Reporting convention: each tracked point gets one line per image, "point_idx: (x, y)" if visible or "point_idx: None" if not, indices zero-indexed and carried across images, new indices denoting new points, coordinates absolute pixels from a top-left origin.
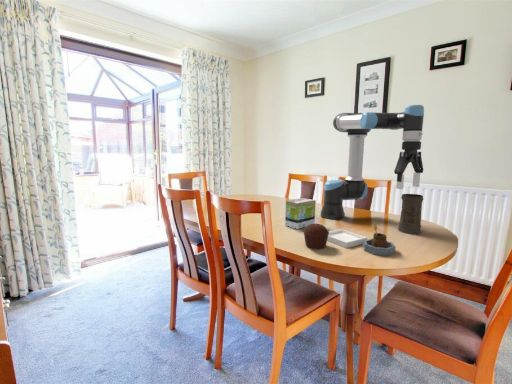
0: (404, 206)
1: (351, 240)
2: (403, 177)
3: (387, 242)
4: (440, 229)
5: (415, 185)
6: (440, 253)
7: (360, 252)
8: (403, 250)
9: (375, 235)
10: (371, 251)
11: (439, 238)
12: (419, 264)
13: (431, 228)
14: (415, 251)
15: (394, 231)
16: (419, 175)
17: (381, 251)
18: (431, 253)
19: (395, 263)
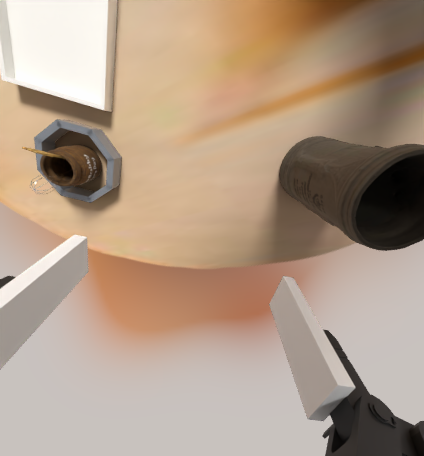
0: (327, 171)
1: (65, 68)
2: (10, 346)
3: (107, 176)
4: None
5: (278, 296)
6: (176, 258)
7: (31, 132)
8: (134, 204)
9: (40, 161)
10: None
11: (281, 240)
12: (87, 244)
13: None
14: (149, 224)
15: (280, 135)
16: (302, 390)
17: None
18: (162, 247)
19: (51, 214)
